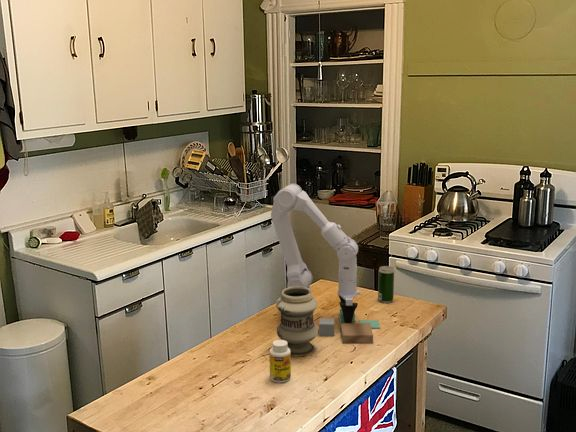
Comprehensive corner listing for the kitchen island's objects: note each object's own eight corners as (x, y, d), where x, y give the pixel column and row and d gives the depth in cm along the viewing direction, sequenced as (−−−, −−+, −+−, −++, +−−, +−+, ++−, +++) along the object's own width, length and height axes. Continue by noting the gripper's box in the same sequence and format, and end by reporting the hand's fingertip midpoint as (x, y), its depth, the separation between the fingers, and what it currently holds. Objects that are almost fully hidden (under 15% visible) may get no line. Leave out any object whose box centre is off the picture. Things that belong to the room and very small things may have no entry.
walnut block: (342, 344, 185) (342, 335, 184) (340, 332, 194) (340, 323, 193) (372, 344, 185) (373, 335, 184) (369, 332, 193) (369, 323, 193)
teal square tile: (361, 328, 195) (361, 327, 195) (359, 321, 201) (359, 320, 201) (380, 328, 195) (380, 327, 195) (377, 321, 201) (377, 319, 201)
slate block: (319, 336, 190) (319, 324, 189) (318, 330, 194) (319, 318, 193) (334, 336, 190) (334, 324, 189) (333, 330, 194) (333, 318, 193)
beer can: (385, 304, 214) (385, 271, 212) (374, 300, 219) (375, 267, 216) (396, 301, 217) (397, 268, 214) (386, 296, 222) (387, 264, 219)
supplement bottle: (272, 384, 161) (271, 348, 159) (268, 374, 167) (267, 339, 164) (293, 382, 162) (292, 346, 160) (288, 372, 168) (287, 337, 165)
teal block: (340, 325, 198) (340, 314, 197) (339, 320, 202) (339, 308, 201) (354, 325, 198) (354, 314, 197) (353, 320, 202) (353, 308, 201)
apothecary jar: (270, 354, 178) (269, 295, 174) (285, 337, 189) (284, 281, 185) (310, 360, 174) (310, 300, 170) (323, 343, 185) (323, 286, 181)
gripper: (362, 286, 189) (361, 327, 192) (358, 270, 203) (357, 309, 206) (339, 286, 189) (339, 327, 192) (336, 271, 203) (336, 309, 207)
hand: (347, 318), depth 199 cm, fingers open, 7 cm apart
